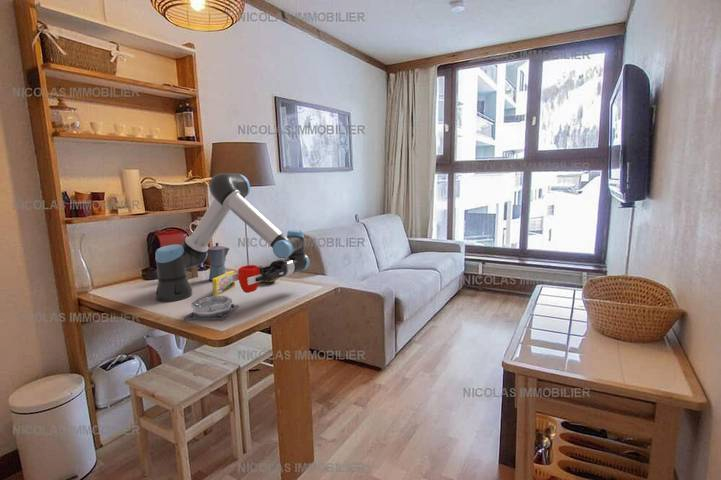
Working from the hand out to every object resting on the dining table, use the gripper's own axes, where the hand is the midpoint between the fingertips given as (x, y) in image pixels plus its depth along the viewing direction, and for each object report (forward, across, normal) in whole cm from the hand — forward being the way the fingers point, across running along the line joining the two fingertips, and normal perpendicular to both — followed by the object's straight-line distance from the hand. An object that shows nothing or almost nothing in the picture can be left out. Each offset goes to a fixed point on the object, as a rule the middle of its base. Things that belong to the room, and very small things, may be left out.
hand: (240, 279), depth 146 cm
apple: (-5, 0, -6) cm, 8 cm away
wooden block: (-21, +71, -15) cm, 76 cm away
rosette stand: (+6, +10, -14) cm, 18 cm away
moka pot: (-28, +54, -14) cm, 63 cm away
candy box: (-16, +32, -14) cm, 38 cm away
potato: (-38, +25, -14) cm, 47 cm away
